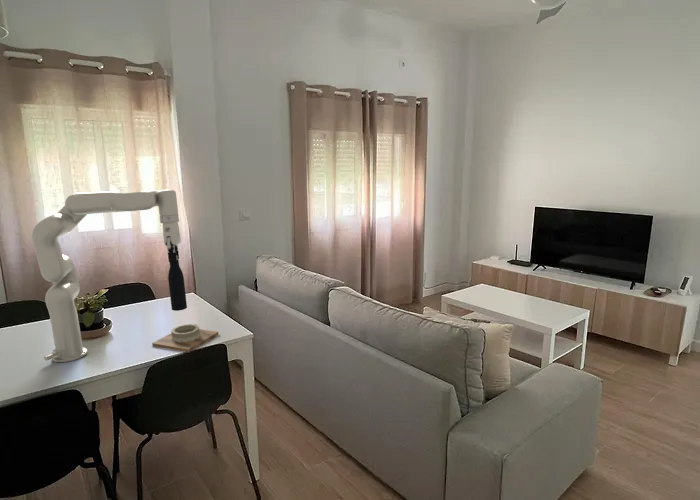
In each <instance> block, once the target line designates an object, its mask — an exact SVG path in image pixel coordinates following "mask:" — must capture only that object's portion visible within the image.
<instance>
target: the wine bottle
mask: <svg viewBox="0 0 700 500" xmlns="http://www.w3.org/2000/svg"><path fill="white" fill-rule="evenodd" d="M172 245H173V244H171V246H172ZM172 248H173V247H172ZM176 250H178V251H179V248H178V249H177V246H175V252H176ZM177 257H178V256H177V255H176V258H177ZM179 261H180V260H179V259H178V258H177V261H176V262H169V269H168V273H167V275H168V277H167V282H168V288H169V290H168V291H169V297H170V306H171V310H172V311H175V312H177V311H184V310H186V309H187V308H188V305H187V295H186V286H185V276H184V273H183V270H182V268H181V266H180V262H179Z"/></svg>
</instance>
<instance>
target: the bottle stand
mask: <svg viewBox="0 0 700 500" xmlns="http://www.w3.org/2000/svg"><path fill="white" fill-rule="evenodd" d="M170 332H171V333H169V334H167V335H165V336H164V337H161V338H160V339H157V340H155V341H154V342H152V347H155V348H161V349H166V350H171V351H172V350H173V351H178V352H183V353H191V352H193V351H194V350H195V349H197V348H200V347H201V346H202V345H204V344H206V343H208V342H209V341H211V340H212V339H214V338H217V337H218V336H219V331H216V330H208V329H200V326H199V325H197V324H193V323H188V324H183V325H179V326H176V327H174V328H172V329H171V331H170ZM190 351H191V352H190Z"/></svg>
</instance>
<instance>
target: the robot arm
mask: <svg viewBox="0 0 700 500" xmlns="http://www.w3.org/2000/svg"><path fill="white" fill-rule="evenodd" d="M154 207H158V214H159V215H158V216H159V222H160V224H162V231H163V232H162V233H163V242H164V246H165V247H166V249H167V257H168V262H169V263H170V262H176V261H177V258H178V260H179V259H180V253H179V244H180V243H181V242H182V240H181V233H180V226H179V222H180V218H179V209H178V207H179V206H178V198H177V193H176V191H175V190H174V189H159V190H154V189H153V190H152V189H146V190H142V191H134V192H115V191H97V192H76V193H73V194H70V195H69V196H67V197H66V198H65V202H64V206H62V207H61V209H60V210H59V211H58V212H57V213H55V214H52V215H49V216H47V217H45V218H43V219H41V220H40V221H39V222H38V223H36V225H35V226H34V227H33V230H32V232H31V239H32V244H33V248H34V251H35V254H36V259H37V263H38V266H39V267H38V268H39V270H40V275H41V276H42V278H43V279H44V280H45V281H47V282H50V283H52V285H51V287H49V289H48V290H47V291H46V293H45V297H44V302H45V305H46V308H47V311H48V314H49V319H50V320H49V321H50V324H51V330H52V336H53V342H54V349H52V352H51V353H50V354H47V355H45V356H44V357H43V360H45V361H49V360H52V361H53V362H54V363H66V362H72V361H75V360H79V359H81V358H83V357H85V356H86V355H87V354H88V352H89V351H88V349H87V348H86V347H84V346H83V341H82V335H81V333H82V332H81V328H80V322H79V316H78V315H79V314H78V311H77V307H76V304H75V299H77V297H78V295H79V293H80V284H79V279H78V275H77V272H76V268H75V265H74V261H73V260H72V259H71V258H70V257H69V256H67V255H65V254H63V251H62V248H61V247H62V246H61V245H60V243H59V238H60V237H61V236H64V235H66V234H68V233H70V232H71V231H72V230H73V229H75V227H77V226H78V225H79V223H80V222H81V221H82V220H83V219H84V218H85V217H86V216H87V215H92V214H104V213H105V214H107V213H120V212H122V213H124V212H138V211H139V212H140V211H147V210H151V209H152V208H154ZM171 244H173V245H172V246H171ZM175 246H177V249H178V250H176V252H175ZM172 247H173V248H172ZM176 255H177V256H178V257H177V258H176Z"/></svg>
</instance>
